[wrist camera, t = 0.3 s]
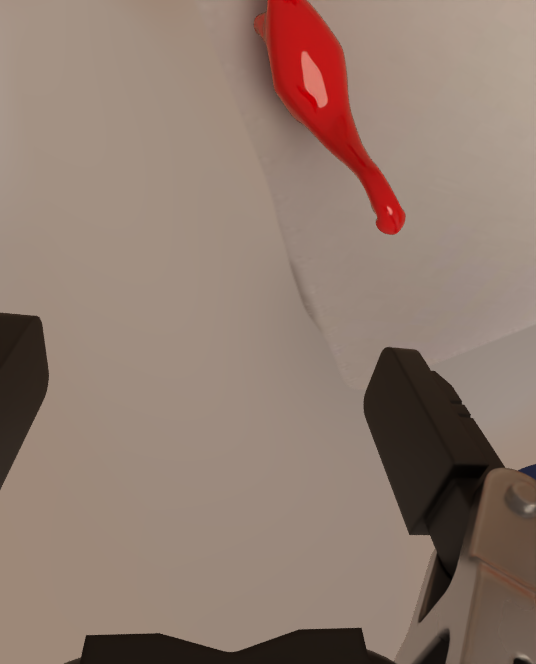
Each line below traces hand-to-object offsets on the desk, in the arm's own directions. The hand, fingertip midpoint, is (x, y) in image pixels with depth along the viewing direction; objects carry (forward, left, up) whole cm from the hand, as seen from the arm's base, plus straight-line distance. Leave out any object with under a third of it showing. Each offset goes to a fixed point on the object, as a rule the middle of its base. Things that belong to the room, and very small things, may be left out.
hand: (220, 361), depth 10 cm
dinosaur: (+6, -4, -23) cm, 24 cm away
